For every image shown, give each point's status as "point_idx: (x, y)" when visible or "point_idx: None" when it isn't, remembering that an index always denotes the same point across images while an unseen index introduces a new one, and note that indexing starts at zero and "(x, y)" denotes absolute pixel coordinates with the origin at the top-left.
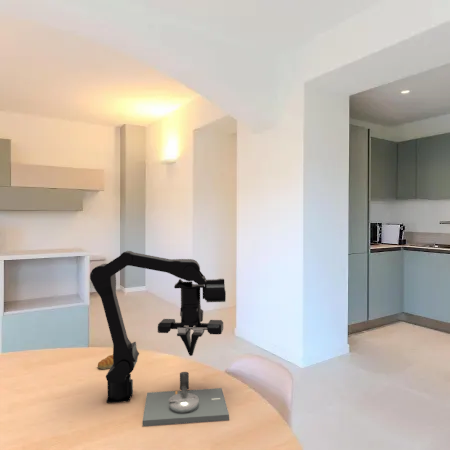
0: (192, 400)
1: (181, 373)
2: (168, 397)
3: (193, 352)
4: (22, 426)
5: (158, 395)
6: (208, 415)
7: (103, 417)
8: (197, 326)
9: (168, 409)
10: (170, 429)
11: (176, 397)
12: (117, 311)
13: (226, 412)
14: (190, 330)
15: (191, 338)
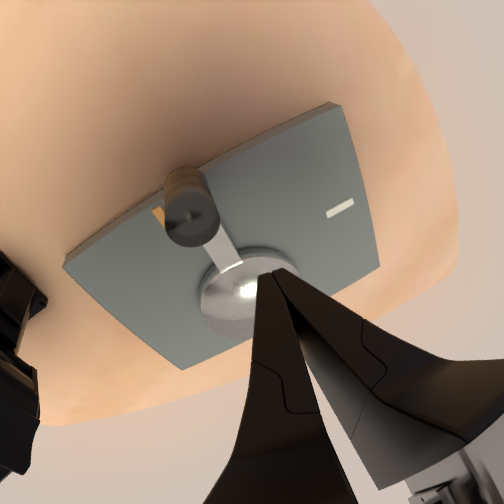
0: None
1: (177, 231)
2: (160, 264)
3: (295, 277)
4: None
5: (115, 267)
6: (332, 293)
7: (72, 364)
8: (495, 486)
9: None
10: (248, 341)
11: (223, 306)
12: None
13: (374, 261)
14: (350, 486)
15: (365, 461)
